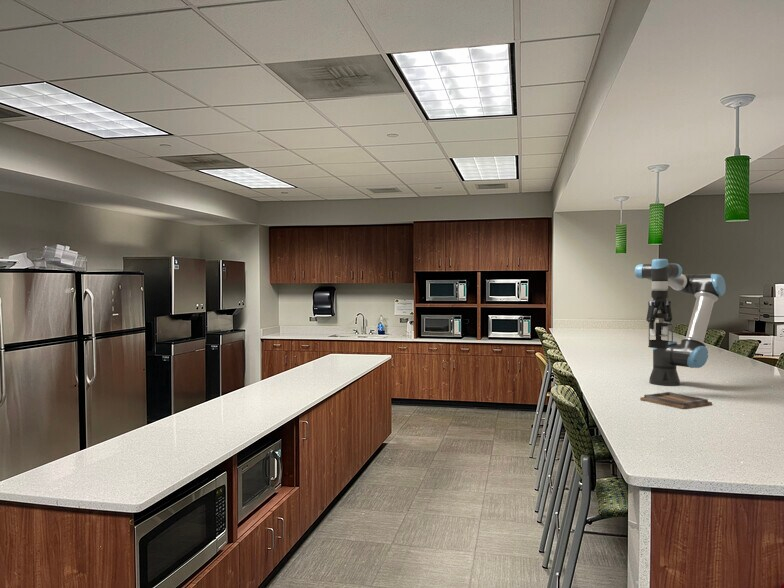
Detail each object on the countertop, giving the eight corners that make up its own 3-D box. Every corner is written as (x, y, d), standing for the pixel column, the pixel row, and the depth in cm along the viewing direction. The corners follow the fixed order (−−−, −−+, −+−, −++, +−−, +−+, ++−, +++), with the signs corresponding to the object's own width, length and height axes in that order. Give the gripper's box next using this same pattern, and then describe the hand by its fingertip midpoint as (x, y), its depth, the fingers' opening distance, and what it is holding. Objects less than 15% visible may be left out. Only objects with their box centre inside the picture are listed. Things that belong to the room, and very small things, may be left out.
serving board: (668, 396, 280) (668, 391, 280) (711, 404, 260) (712, 399, 260) (640, 400, 270) (640, 394, 270) (683, 409, 251) (683, 403, 251)
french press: (645, 347, 287) (646, 301, 286) (647, 345, 295) (648, 300, 294) (671, 348, 281) (672, 301, 281) (673, 347, 289) (673, 301, 289)
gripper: (667, 289, 296) (667, 333, 296) (638, 290, 286) (638, 335, 286) (680, 289, 289) (680, 334, 289) (651, 290, 279) (651, 336, 279)
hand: (659, 335), depth 288 cm, fingers closed on french press, 9 cm apart
